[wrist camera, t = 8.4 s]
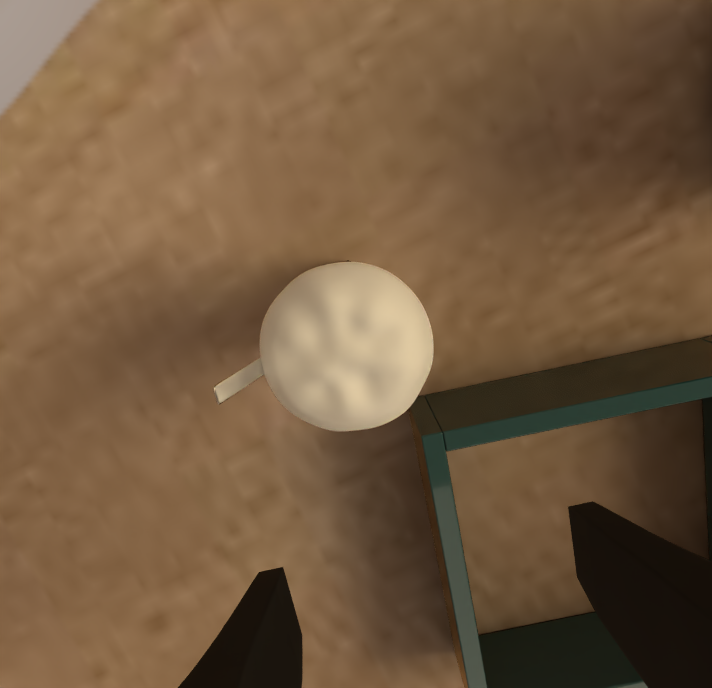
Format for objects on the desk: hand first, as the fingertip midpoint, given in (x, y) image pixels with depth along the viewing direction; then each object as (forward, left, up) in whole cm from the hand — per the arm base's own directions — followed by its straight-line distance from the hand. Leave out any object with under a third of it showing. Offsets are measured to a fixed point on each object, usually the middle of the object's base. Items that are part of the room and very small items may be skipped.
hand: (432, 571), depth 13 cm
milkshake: (-1, +5, -11) cm, 12 cm away
